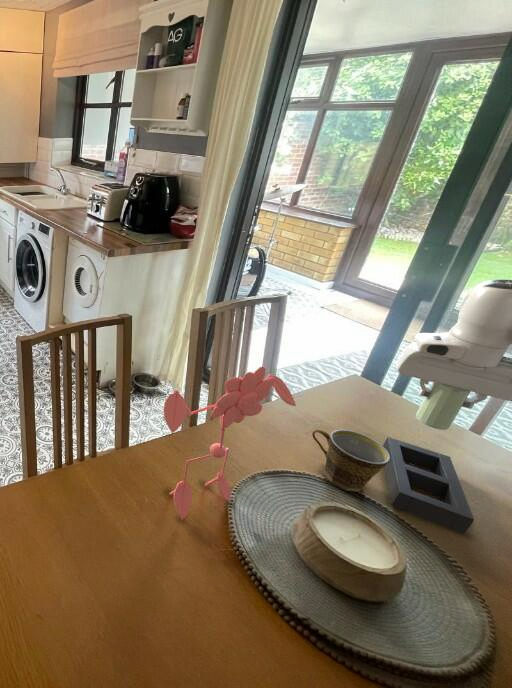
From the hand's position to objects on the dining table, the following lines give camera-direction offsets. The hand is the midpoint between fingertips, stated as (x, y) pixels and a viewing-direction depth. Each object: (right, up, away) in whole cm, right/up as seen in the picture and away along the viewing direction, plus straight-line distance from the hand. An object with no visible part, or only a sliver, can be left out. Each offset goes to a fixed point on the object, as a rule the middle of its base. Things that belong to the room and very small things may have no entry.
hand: (443, 400), depth 96 cm
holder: (-12, -18, -6) cm, 22 cm away
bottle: (0, -6, +3) cm, 6 cm away
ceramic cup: (-28, -16, -3) cm, 33 cm away
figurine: (-61, -21, -13) cm, 66 cm away
